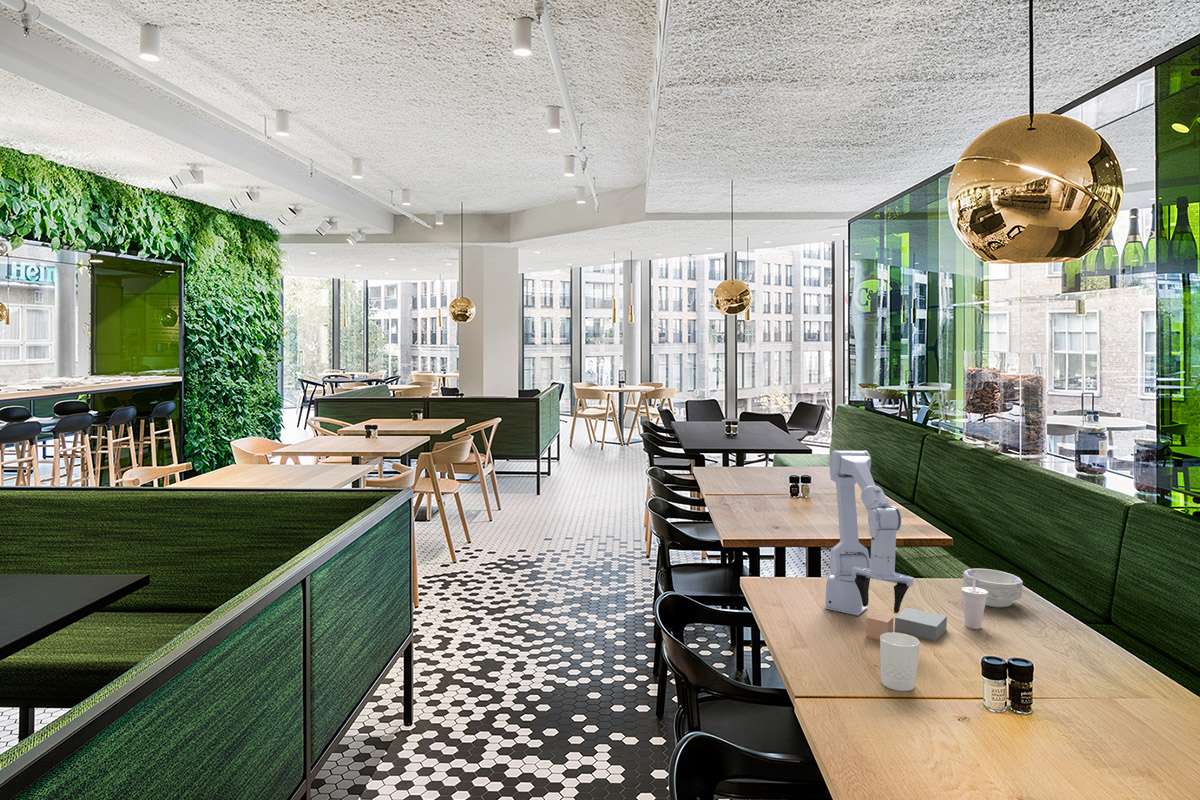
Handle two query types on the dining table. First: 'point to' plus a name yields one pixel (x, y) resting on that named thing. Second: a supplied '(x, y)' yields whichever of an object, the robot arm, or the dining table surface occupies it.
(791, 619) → the dining table surface
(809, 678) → the dining table surface
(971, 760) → the dining table surface
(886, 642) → the white cup
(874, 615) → the terracotta block
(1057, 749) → the dining table surface
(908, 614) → the slate plinth
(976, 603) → the smoothie
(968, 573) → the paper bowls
